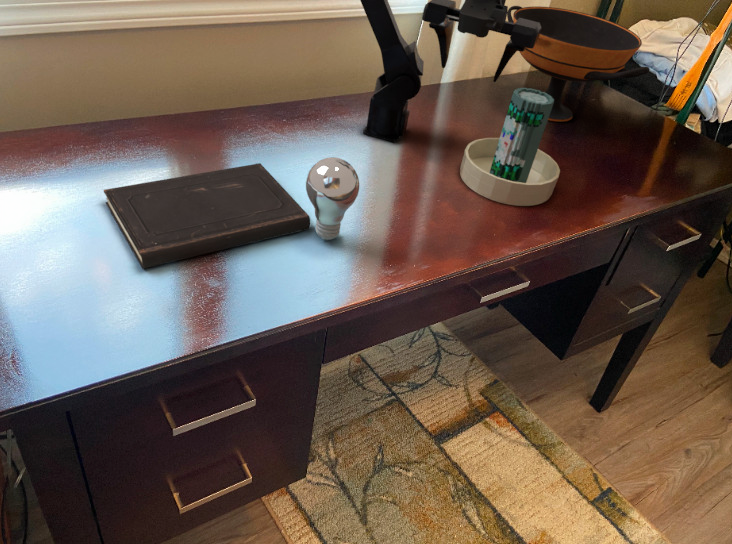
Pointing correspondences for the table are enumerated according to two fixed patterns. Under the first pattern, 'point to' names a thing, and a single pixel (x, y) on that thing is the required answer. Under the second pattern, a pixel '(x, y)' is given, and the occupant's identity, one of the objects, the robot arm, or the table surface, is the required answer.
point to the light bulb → (331, 194)
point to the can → (521, 134)
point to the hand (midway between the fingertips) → (468, 74)
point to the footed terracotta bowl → (577, 50)
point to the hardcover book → (203, 213)
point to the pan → (501, 189)
